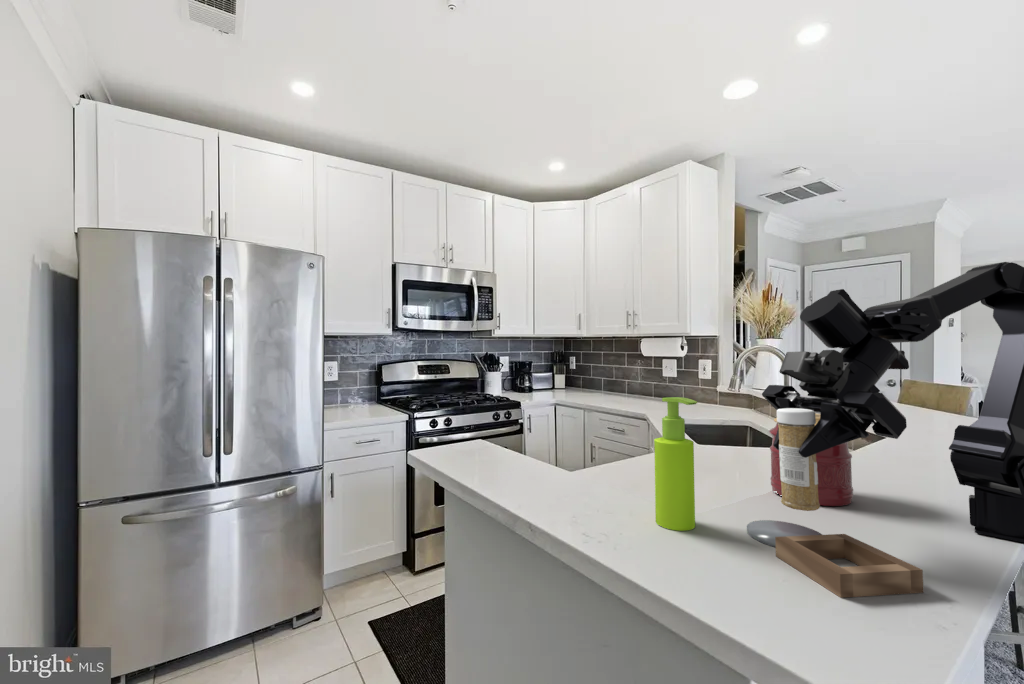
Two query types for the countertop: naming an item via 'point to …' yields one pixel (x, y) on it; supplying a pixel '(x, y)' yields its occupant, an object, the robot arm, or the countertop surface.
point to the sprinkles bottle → (797, 460)
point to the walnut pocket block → (866, 579)
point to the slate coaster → (776, 530)
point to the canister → (822, 472)
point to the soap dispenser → (674, 471)
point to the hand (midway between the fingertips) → (788, 451)
